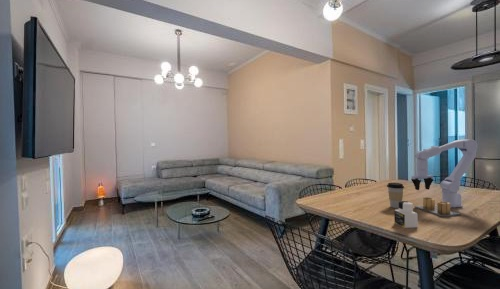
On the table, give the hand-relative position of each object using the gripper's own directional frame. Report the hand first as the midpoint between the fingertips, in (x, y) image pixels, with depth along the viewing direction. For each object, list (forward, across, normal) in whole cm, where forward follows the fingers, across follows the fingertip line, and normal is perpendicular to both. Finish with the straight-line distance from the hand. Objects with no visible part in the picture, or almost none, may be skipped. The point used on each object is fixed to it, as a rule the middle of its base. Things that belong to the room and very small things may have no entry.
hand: (422, 189), depth 152 cm
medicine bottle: (+10, +40, +29) cm, 50 cm away
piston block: (+10, +5, +14) cm, 18 cm away
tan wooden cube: (+9, +5, +9) cm, 14 cm away
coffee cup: (+10, +21, +1) cm, 23 cm away
